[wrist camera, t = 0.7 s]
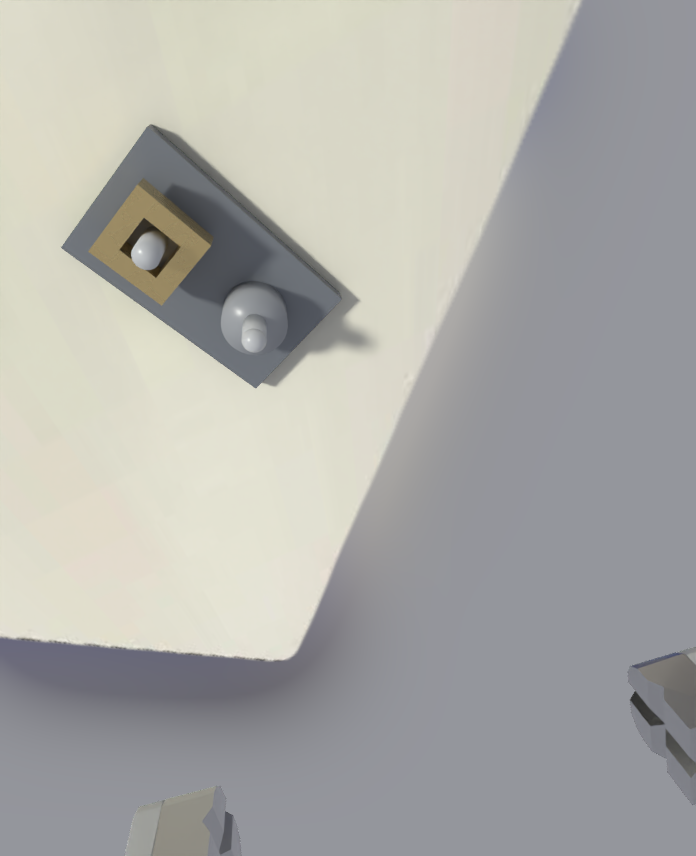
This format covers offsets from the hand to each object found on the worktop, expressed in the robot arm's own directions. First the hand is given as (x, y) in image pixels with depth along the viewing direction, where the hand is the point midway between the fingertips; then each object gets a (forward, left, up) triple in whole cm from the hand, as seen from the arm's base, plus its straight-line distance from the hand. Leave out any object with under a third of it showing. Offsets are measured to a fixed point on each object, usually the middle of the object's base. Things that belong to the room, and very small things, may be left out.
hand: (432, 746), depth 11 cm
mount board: (+9, -3, -45) cm, 46 cm away
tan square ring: (+9, -8, -42) cm, 44 cm away
